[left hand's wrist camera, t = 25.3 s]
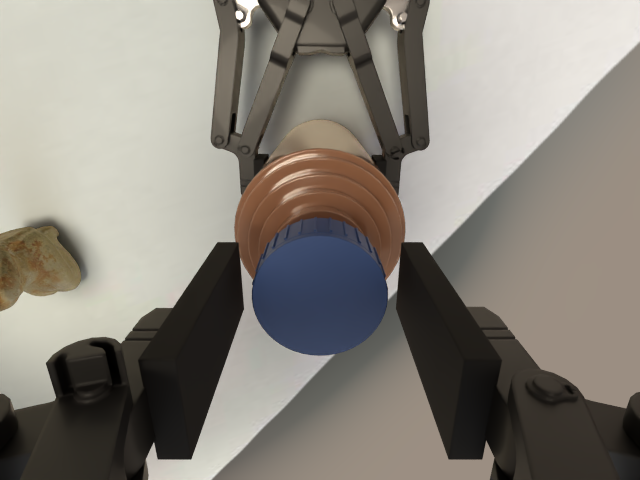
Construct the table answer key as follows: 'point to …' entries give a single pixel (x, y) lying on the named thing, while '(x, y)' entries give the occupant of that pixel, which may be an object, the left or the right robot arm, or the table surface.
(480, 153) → the table surface
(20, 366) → the table surface
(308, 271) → the cap
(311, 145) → the bottle
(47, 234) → the sculpture
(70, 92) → the table surface
